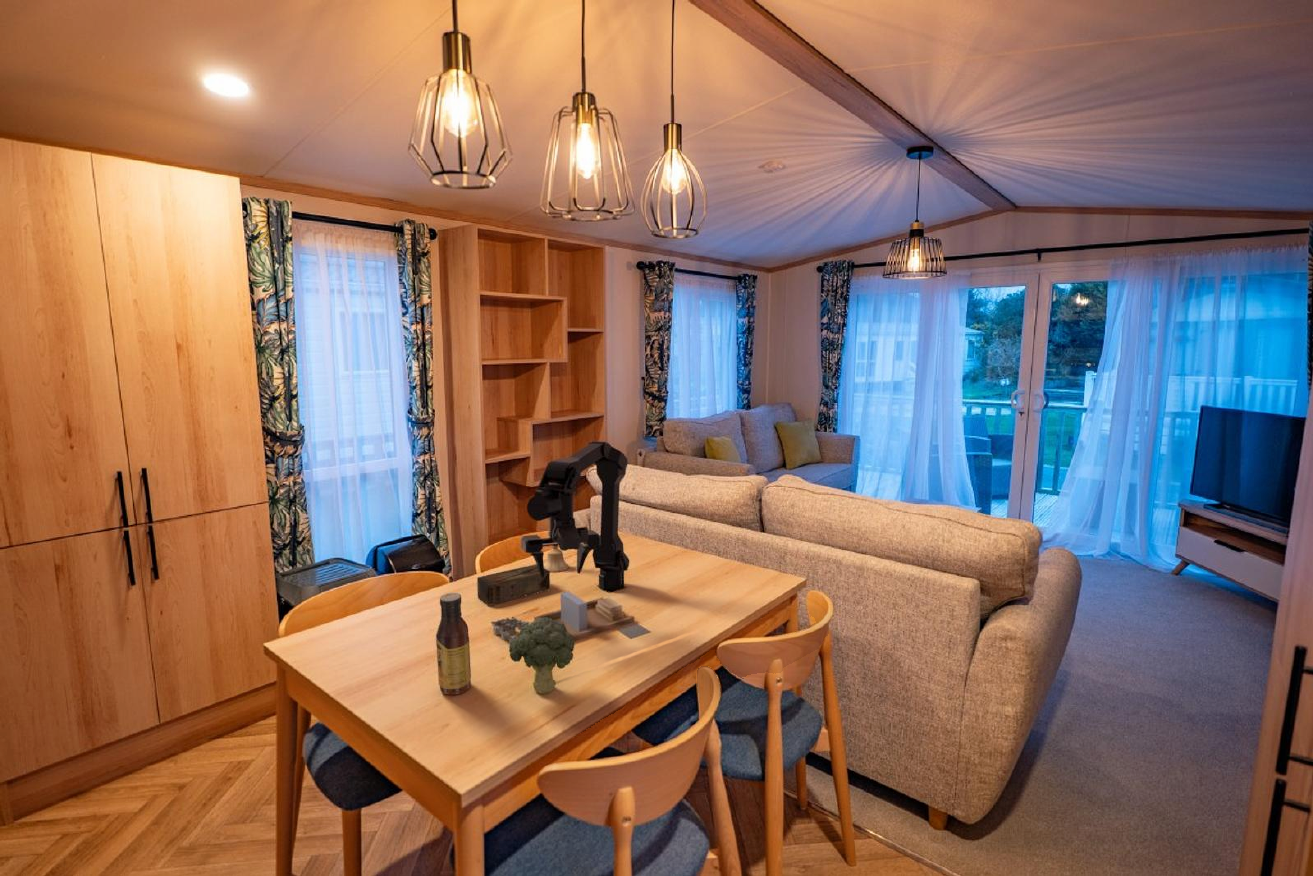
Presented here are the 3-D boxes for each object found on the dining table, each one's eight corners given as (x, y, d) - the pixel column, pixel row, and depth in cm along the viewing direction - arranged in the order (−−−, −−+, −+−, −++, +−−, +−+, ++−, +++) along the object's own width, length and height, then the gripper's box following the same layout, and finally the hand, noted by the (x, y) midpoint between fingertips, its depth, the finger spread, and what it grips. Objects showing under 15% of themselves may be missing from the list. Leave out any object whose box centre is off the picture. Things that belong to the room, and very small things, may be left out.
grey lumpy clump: (540, 641, 145) (539, 624, 144) (511, 651, 140) (511, 634, 139) (517, 626, 153) (516, 610, 152) (489, 635, 148) (488, 619, 147)
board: (568, 617, 156) (568, 591, 155) (587, 630, 148) (586, 602, 147) (561, 619, 154) (560, 593, 153) (579, 632, 147) (578, 605, 146)
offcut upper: (609, 602, 161) (609, 597, 161) (621, 610, 156) (621, 605, 156) (597, 606, 159) (597, 600, 159) (610, 614, 154) (610, 608, 154)
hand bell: (568, 562, 197) (567, 514, 195) (569, 571, 189) (568, 521, 187) (542, 564, 196) (540, 515, 194) (541, 573, 188) (540, 522, 186)
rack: (602, 604, 165) (602, 597, 165) (634, 623, 153) (634, 617, 153) (534, 623, 153) (534, 617, 153) (563, 647, 141) (563, 639, 141)
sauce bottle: (443, 680, 127) (438, 589, 124) (474, 679, 127) (470, 588, 124) (435, 698, 120) (429, 602, 117) (467, 697, 121) (463, 601, 118)
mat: (636, 625, 153) (636, 623, 152) (651, 634, 148) (651, 631, 148) (616, 631, 149) (616, 629, 149) (630, 641, 144) (630, 638, 144)
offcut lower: (607, 607, 162) (607, 601, 162) (624, 617, 156) (624, 611, 155) (595, 610, 160) (595, 604, 160) (612, 621, 153) (612, 615, 153)
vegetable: (579, 701, 120) (578, 628, 117) (512, 712, 116) (509, 637, 114) (570, 670, 131) (568, 603, 129) (508, 679, 127) (506, 611, 125)
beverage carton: (551, 590, 175) (551, 568, 174) (488, 608, 163) (487, 584, 162) (537, 582, 181) (537, 561, 180) (475, 599, 169) (474, 576, 168)
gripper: (532, 523, 137) (531, 590, 139) (609, 516, 146) (608, 580, 147) (520, 512, 147) (519, 576, 149) (593, 507, 156) (592, 567, 157)
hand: (560, 575), depth 150 cm, fingers open, 9 cm apart
